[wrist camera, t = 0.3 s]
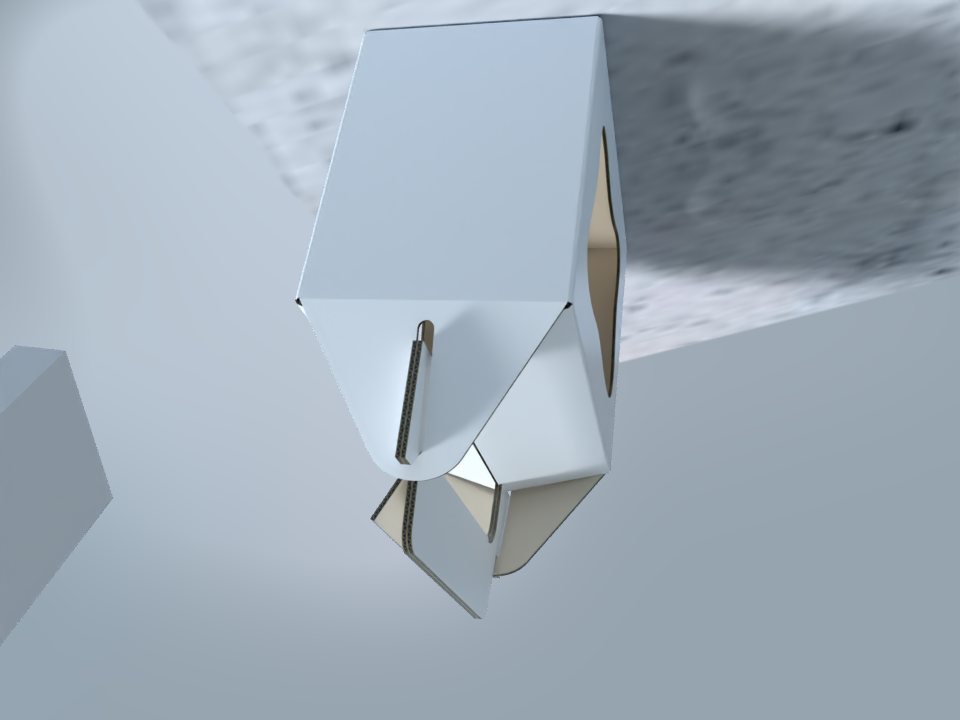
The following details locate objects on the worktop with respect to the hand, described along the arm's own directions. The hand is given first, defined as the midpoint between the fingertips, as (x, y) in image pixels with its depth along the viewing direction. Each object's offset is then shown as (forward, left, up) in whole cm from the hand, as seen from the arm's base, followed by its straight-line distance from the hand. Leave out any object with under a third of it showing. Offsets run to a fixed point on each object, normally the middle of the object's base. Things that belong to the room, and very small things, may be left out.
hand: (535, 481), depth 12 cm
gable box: (+27, -22, -33) cm, 48 cm away
